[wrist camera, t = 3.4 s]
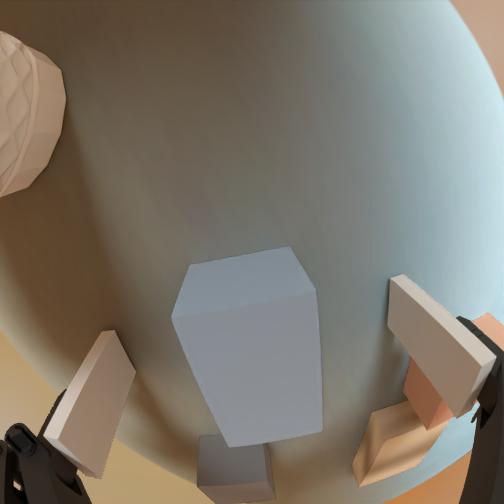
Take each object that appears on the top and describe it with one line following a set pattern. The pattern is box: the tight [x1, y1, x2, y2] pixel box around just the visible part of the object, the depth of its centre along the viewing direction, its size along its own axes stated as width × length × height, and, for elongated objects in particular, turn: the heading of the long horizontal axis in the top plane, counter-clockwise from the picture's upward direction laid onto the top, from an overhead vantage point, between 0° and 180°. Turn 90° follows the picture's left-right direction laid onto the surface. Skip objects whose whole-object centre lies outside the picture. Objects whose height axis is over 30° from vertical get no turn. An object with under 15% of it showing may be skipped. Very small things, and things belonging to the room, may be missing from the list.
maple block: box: [351, 400, 450, 487], centre depth 16 cm, size 9×6×3 cm, turn 6°
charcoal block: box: [197, 434, 276, 504], centre depth 14 cm, size 4×4×4 cm
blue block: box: [171, 246, 323, 447], centre depth 10 cm, size 7×4×4 cm, turn 10°
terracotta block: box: [403, 313, 504, 431], centre depth 12 cm, size 7×4×4 cm, turn 101°
